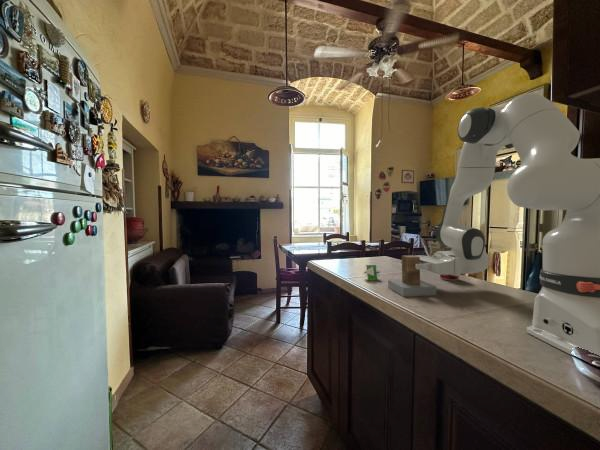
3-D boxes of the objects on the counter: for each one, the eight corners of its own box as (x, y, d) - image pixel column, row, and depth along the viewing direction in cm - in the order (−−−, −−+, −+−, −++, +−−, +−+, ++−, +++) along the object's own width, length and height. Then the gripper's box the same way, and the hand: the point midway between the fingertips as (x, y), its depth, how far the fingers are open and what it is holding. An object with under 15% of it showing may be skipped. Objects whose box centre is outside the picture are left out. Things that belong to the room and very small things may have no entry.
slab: (436, 294, 89) (436, 286, 89) (403, 296, 88) (403, 287, 88) (417, 286, 101) (417, 278, 101) (388, 287, 100) (388, 280, 100)
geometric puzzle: (361, 272, 119) (363, 260, 114) (376, 272, 119) (379, 260, 114) (364, 284, 114) (366, 272, 109) (380, 284, 113) (382, 272, 108)
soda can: (462, 280, 108) (462, 252, 108) (445, 281, 108) (445, 253, 108) (452, 277, 115) (452, 250, 115) (436, 277, 115) (436, 251, 115)
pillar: (420, 284, 92) (419, 256, 92) (408, 284, 92) (407, 257, 92) (413, 281, 97) (413, 255, 97) (402, 281, 96) (401, 255, 96)
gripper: (427, 251, 106) (395, 252, 105) (462, 258, 85) (423, 259, 84) (427, 266, 106) (395, 267, 105) (463, 277, 86) (424, 278, 84)
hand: (408, 264), depth 94 cm, fingers open, 8 cm apart
